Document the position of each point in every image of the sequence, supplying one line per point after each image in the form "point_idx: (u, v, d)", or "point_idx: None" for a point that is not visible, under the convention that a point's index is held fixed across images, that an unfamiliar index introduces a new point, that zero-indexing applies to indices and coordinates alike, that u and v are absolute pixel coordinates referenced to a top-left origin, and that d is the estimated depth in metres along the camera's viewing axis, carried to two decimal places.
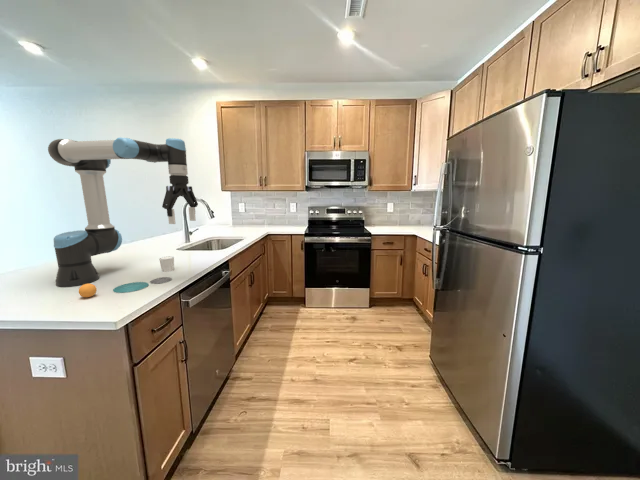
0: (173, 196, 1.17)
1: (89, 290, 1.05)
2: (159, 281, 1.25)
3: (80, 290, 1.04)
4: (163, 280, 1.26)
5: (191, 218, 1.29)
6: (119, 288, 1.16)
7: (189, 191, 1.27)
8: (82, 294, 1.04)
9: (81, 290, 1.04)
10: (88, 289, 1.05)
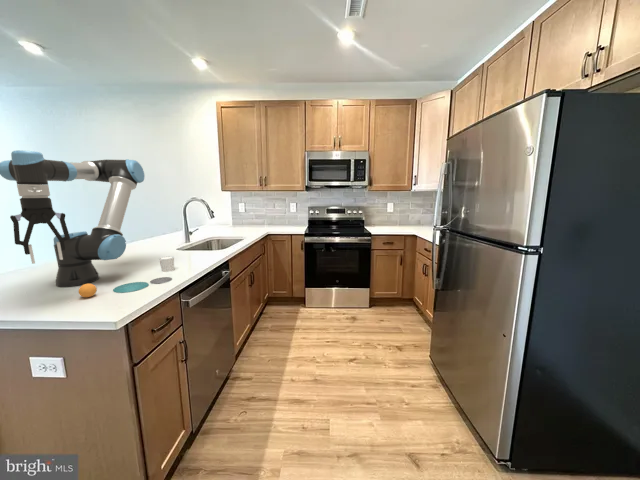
0: (27, 227, 0.92)
1: (89, 290, 1.05)
2: (159, 281, 1.25)
3: (80, 290, 1.04)
4: (163, 280, 1.26)
5: (59, 256, 1.00)
6: (119, 288, 1.16)
7: None
8: (82, 294, 1.04)
9: (81, 290, 1.04)
10: (88, 289, 1.05)
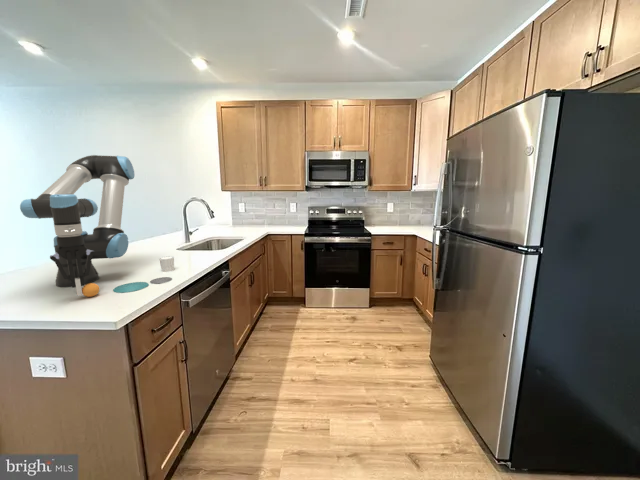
0: (67, 263, 1.01)
1: (92, 290, 1.06)
2: (159, 281, 1.25)
3: (84, 288, 1.05)
4: (163, 280, 1.26)
5: None
6: (119, 288, 1.16)
7: None
8: (85, 292, 1.05)
9: (85, 289, 1.05)
10: (92, 288, 1.06)
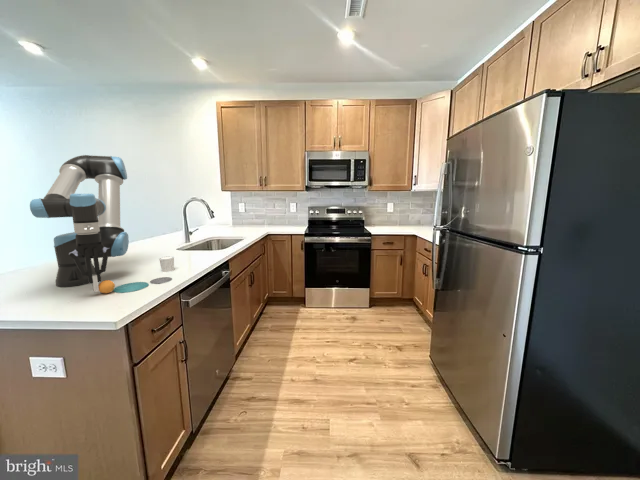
0: (85, 260, 1.05)
1: (109, 287, 1.10)
2: (159, 281, 1.25)
3: (103, 283, 1.09)
4: (163, 280, 1.26)
5: None
6: (119, 288, 1.16)
7: None
8: (101, 287, 1.08)
9: (104, 283, 1.09)
10: (110, 286, 1.10)
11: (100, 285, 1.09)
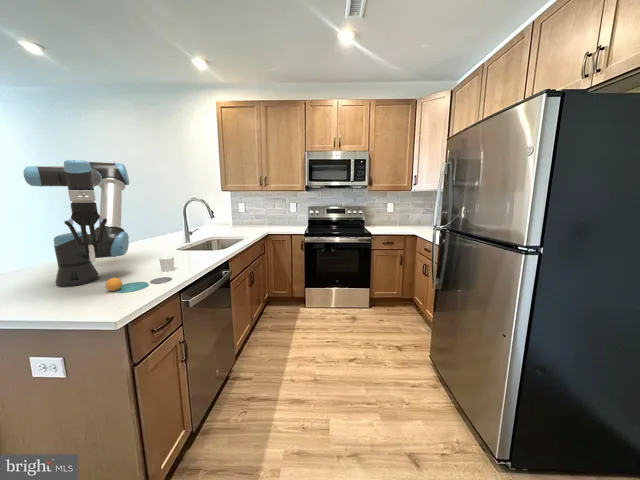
0: (81, 229, 1.03)
1: (117, 284, 1.12)
2: (159, 281, 1.25)
3: (117, 278, 1.14)
4: (163, 280, 1.26)
5: None
6: None
7: None
8: (113, 280, 1.12)
9: (117, 279, 1.13)
10: (119, 284, 1.13)
11: (113, 278, 1.13)
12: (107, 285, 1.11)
